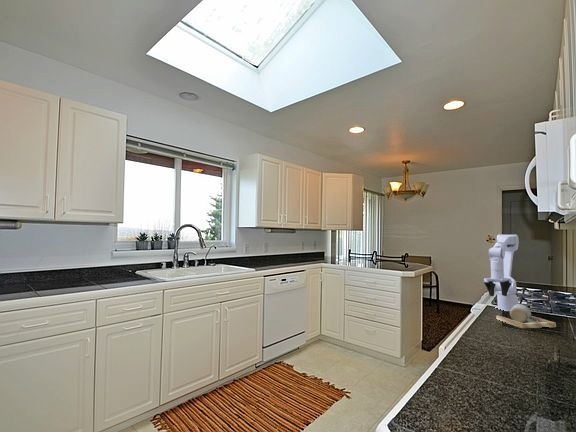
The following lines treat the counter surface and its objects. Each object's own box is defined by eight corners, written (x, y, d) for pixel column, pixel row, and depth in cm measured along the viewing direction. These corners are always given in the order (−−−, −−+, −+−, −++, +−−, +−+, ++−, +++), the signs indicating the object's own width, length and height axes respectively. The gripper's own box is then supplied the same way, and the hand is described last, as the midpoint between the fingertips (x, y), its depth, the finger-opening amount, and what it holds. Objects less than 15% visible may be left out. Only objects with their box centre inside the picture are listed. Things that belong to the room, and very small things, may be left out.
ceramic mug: (509, 321, 144) (508, 305, 145) (511, 318, 150) (511, 302, 151) (537, 326, 137) (537, 309, 137) (539, 323, 143) (539, 306, 143)
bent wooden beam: (527, 318, 150) (527, 314, 150) (556, 327, 136) (555, 322, 136) (496, 319, 147) (496, 315, 147) (522, 328, 133) (522, 323, 133)
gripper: (491, 271, 155) (492, 297, 154) (515, 270, 157) (516, 297, 156) (480, 269, 162) (481, 294, 161) (504, 269, 164) (505, 294, 163)
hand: (498, 295), depth 159 cm, fingers open, 7 cm apart
